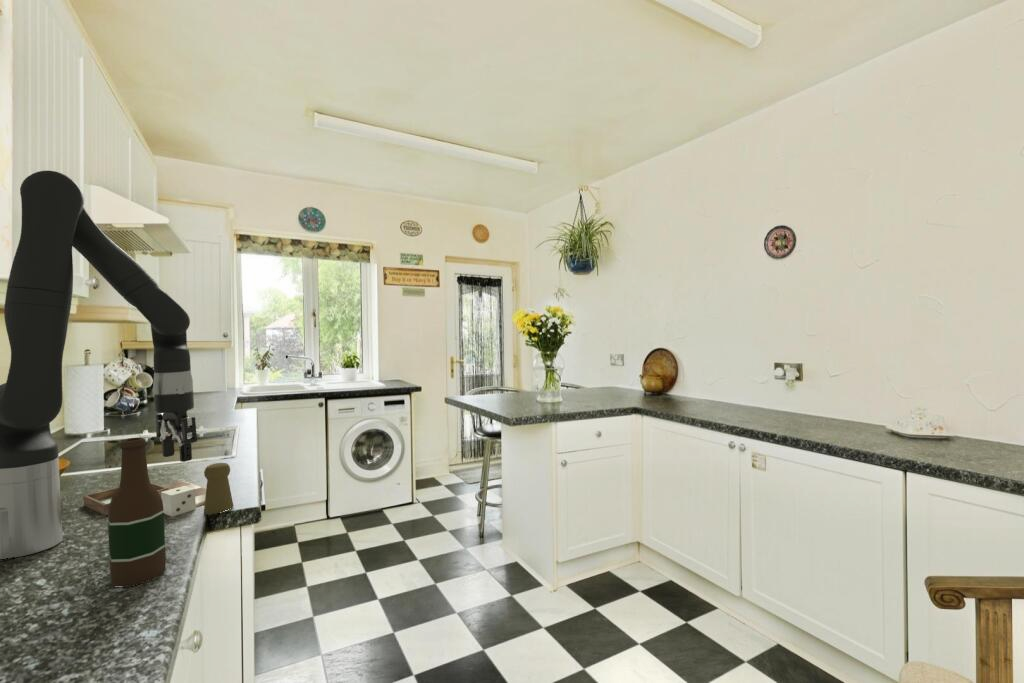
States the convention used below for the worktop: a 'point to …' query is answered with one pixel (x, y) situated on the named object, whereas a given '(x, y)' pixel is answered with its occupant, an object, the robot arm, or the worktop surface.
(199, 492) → the board
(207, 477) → the cork
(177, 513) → the die
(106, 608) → the worktop surface
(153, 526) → the beer bottle
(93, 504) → the dice tray
